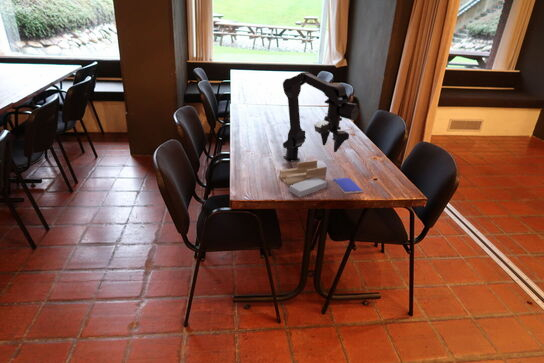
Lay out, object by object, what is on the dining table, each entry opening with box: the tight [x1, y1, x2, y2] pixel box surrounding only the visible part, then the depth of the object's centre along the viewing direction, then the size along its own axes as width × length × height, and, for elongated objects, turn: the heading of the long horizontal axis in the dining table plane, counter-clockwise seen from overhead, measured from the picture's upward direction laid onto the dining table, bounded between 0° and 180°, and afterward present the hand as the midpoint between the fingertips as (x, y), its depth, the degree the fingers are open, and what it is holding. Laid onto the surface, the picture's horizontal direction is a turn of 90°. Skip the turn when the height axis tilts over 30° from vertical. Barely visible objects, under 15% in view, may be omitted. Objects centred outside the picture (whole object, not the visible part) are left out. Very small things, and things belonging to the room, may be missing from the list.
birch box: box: [278, 159, 328, 186], centre depth 163 cm, size 9×19×6 cm, turn 115°
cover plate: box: [288, 177, 328, 198], centre depth 154 cm, size 6×16×3 cm, turn 131°
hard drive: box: [332, 177, 364, 195], centre depth 159 cm, size 2×8×12 cm
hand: (329, 148), depth 166 cm, fingers open, 9 cm apart
